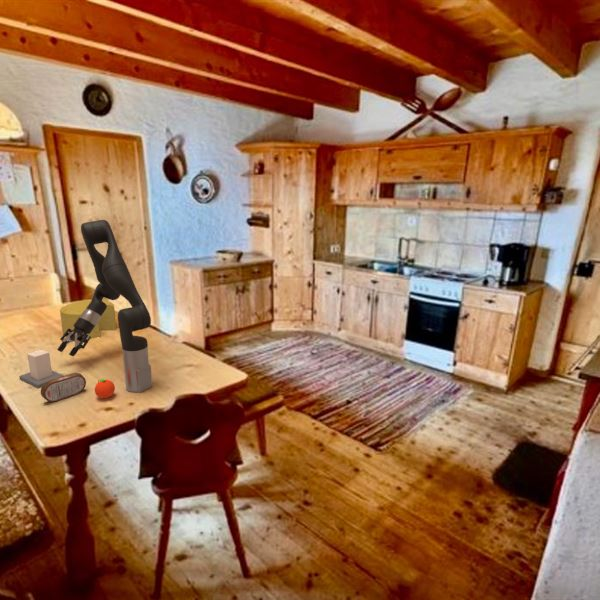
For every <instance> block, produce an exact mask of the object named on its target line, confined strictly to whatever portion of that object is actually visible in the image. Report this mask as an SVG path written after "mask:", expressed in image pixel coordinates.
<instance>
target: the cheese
mask: <svg viewBox="0 0 600 600" xmlns="http://www.w3.org/2000/svg"><path fill="white" fill-rule="evenodd" d="M91 301H92V299H88V300H80V301H74V302H71V303H68V304H66V305H64V306H62V307H61V308H60V309H59V313H60V321H61V329H62V334H63V335H64V333H65V332H66V331H67V330H68V329H71V330H73V329H74V328H75V327H74V324H75V322H76V321H77V320H78V318H79V317H80V315H81V314H82V313H83V311H84V310H85V309H86V308H87V307H88V305H89V304H90V302H91ZM102 302H104V303H105V304H106V305H107V308H106V310H105V311H104V313H103V314H102V316H101V317H100V319H99V321H98V323H97V324H96V325H95V327H94V328H93V330H92V331H91V333H90V334H87V335H89V336H90V337H91V338H90V340H92V338H93V339H97V337H99V338H101V335H100V332H101V331H103V332H105V331H116V330H117V322H116V321H117V320H116V313H115V312H116V311H115V310H116V309H115V304H114V303H112V301H108V300H104V299H102ZM63 335H62V336H63ZM65 338H66V336H65Z"/></svg>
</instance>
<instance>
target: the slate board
mask: <svg viewBox="0 0 600 600" xmlns="http://www.w3.org/2000/svg"><path fill="white" fill-rule="evenodd" d="M61 376H65V375H64V374H62V373H59V372H57V371H54V370H52V375H51V376H48V377H45V378H42V379H40V380H37V379H35V378H33V377H31V374H30V372H26V373H24V374H22V375H19V380H20V381H23V382H24V383H26V384H29V385H31V386H32V387H34V388H37V389H41V388H42V386H43V385H44V384H45V383H46V382H47V381H49V380H51V379H54V378H58V377H61Z"/></svg>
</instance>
